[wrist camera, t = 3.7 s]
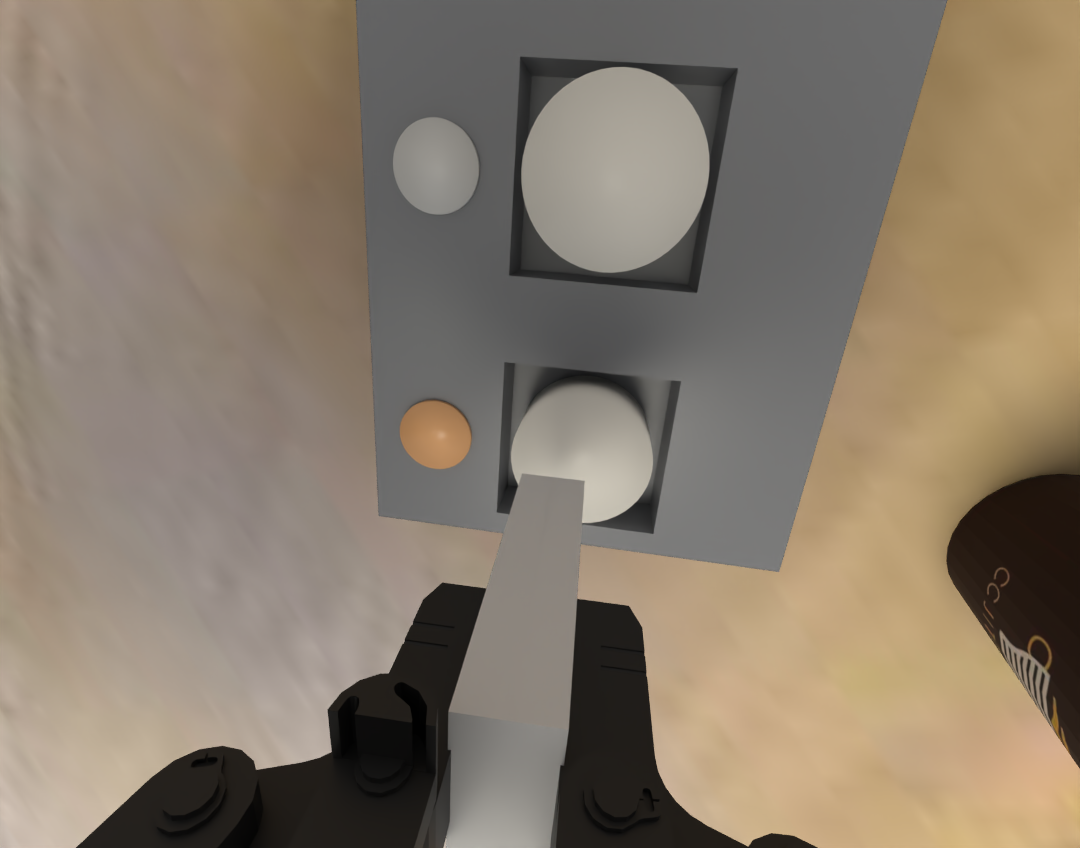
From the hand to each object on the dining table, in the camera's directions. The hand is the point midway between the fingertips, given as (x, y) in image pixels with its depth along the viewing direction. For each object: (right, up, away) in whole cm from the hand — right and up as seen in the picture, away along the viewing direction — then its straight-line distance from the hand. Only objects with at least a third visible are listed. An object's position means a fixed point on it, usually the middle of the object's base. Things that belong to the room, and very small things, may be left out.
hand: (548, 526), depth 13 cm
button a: (+1, +2, +5) cm, 6 cm away
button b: (+2, +9, +1) cm, 9 cm away
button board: (+2, +10, +5) cm, 12 cm away
